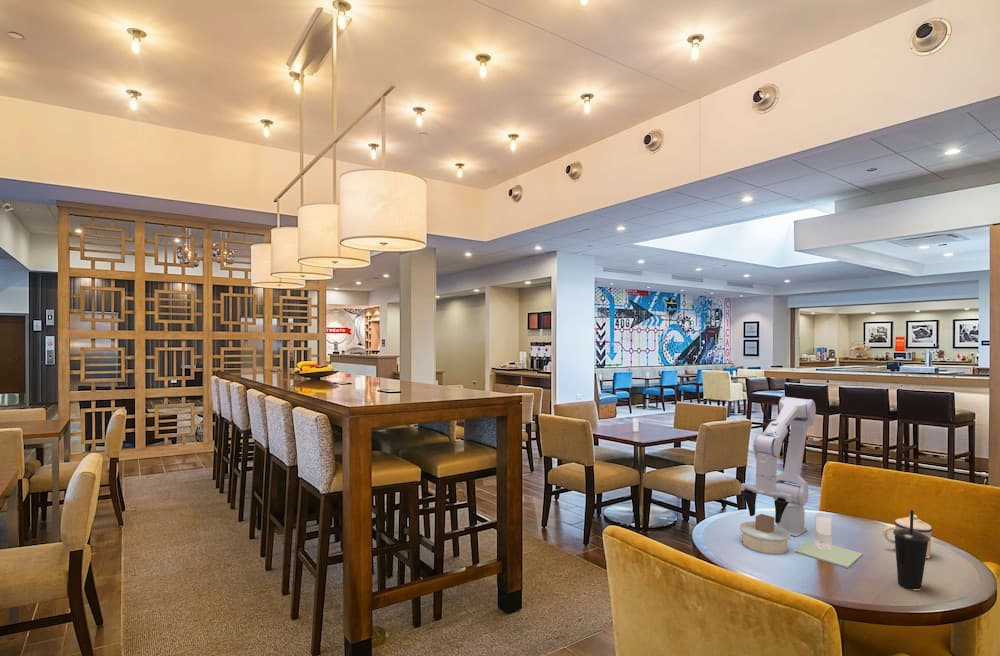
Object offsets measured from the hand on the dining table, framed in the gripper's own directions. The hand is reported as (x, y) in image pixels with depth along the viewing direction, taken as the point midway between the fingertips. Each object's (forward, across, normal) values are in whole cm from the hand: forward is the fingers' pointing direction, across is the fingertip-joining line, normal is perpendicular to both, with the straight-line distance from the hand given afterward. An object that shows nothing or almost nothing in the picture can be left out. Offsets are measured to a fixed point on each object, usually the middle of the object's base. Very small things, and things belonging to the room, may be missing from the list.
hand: (764, 518), depth 168 cm
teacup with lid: (+8, +30, +29) cm, 43 cm away
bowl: (+8, 0, 0) cm, 8 cm away
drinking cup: (+8, +36, +3) cm, 37 cm away
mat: (+8, +15, +9) cm, 19 cm away
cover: (+4, 0, 0) cm, 4 cm away
